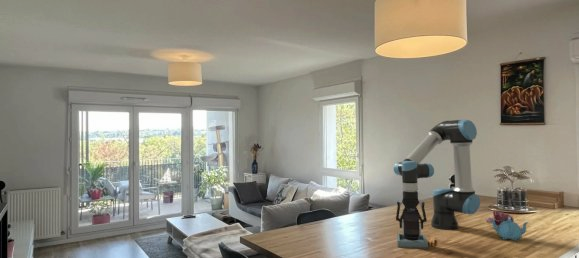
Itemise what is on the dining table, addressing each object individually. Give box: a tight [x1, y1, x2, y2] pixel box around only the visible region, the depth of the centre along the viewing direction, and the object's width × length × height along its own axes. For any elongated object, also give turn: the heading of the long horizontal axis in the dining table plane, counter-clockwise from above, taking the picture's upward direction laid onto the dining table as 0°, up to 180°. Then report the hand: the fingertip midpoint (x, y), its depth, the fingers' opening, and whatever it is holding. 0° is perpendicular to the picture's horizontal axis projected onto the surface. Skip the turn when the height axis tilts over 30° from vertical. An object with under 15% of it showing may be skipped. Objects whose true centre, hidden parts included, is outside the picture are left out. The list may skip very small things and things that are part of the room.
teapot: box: [490, 217, 530, 242], centre depth 187 cm, size 13×13×10 cm
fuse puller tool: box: [429, 236, 436, 246], centre depth 184 cm, size 10×2×2 cm, turn 154°
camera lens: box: [402, 208, 420, 241], centre depth 183 cm, size 8×8×15 cm
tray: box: [396, 233, 429, 250], centre depth 183 cm, size 14×14×3 cm
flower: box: [485, 210, 515, 227], centre depth 209 cm, size 15×15×10 cm
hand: (411, 234), depth 183 cm, fingers closed on camera lens, 8 cm apart
